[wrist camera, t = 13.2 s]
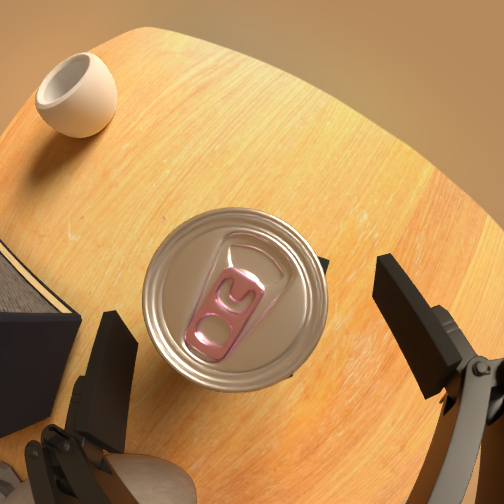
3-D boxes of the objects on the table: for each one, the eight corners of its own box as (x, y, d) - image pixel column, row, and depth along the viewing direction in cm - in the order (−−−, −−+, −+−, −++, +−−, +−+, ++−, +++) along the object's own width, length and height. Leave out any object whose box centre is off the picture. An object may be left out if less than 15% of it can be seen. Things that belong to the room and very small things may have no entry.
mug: (140, 106, 27) (113, 59, 19) (85, 161, 26) (43, 126, 18) (95, 73, 29) (70, 36, 21) (49, 117, 28) (17, 86, 20)
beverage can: (201, 313, 23) (105, 327, 8) (239, 250, 24) (201, 168, 9) (265, 351, 22) (266, 432, 7) (303, 288, 23) (369, 263, 8)
